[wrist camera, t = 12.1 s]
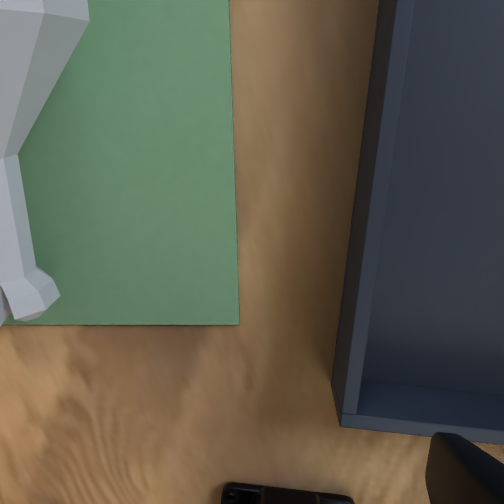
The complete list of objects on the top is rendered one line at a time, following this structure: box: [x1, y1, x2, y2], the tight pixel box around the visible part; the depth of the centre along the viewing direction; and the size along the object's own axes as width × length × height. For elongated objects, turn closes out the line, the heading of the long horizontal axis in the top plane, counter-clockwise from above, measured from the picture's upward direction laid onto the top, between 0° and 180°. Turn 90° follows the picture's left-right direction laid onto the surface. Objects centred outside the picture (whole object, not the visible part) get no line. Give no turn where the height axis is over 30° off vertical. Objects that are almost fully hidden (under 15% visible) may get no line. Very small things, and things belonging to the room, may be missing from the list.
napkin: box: [2, 0, 240, 325], centre depth 19 cm, size 19×18×1 cm
